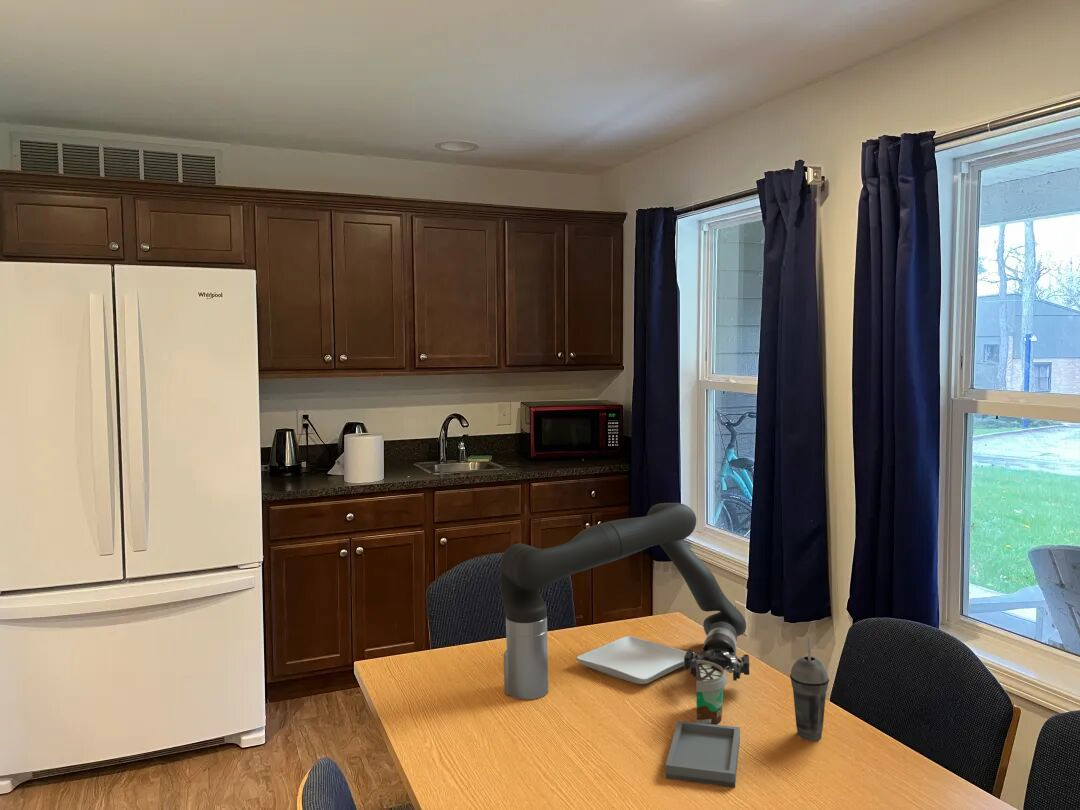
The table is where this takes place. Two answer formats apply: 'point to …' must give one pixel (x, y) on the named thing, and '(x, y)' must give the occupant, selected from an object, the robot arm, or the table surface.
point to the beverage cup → (809, 695)
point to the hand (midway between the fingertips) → (714, 674)
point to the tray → (704, 753)
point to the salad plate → (634, 659)
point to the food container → (709, 692)
